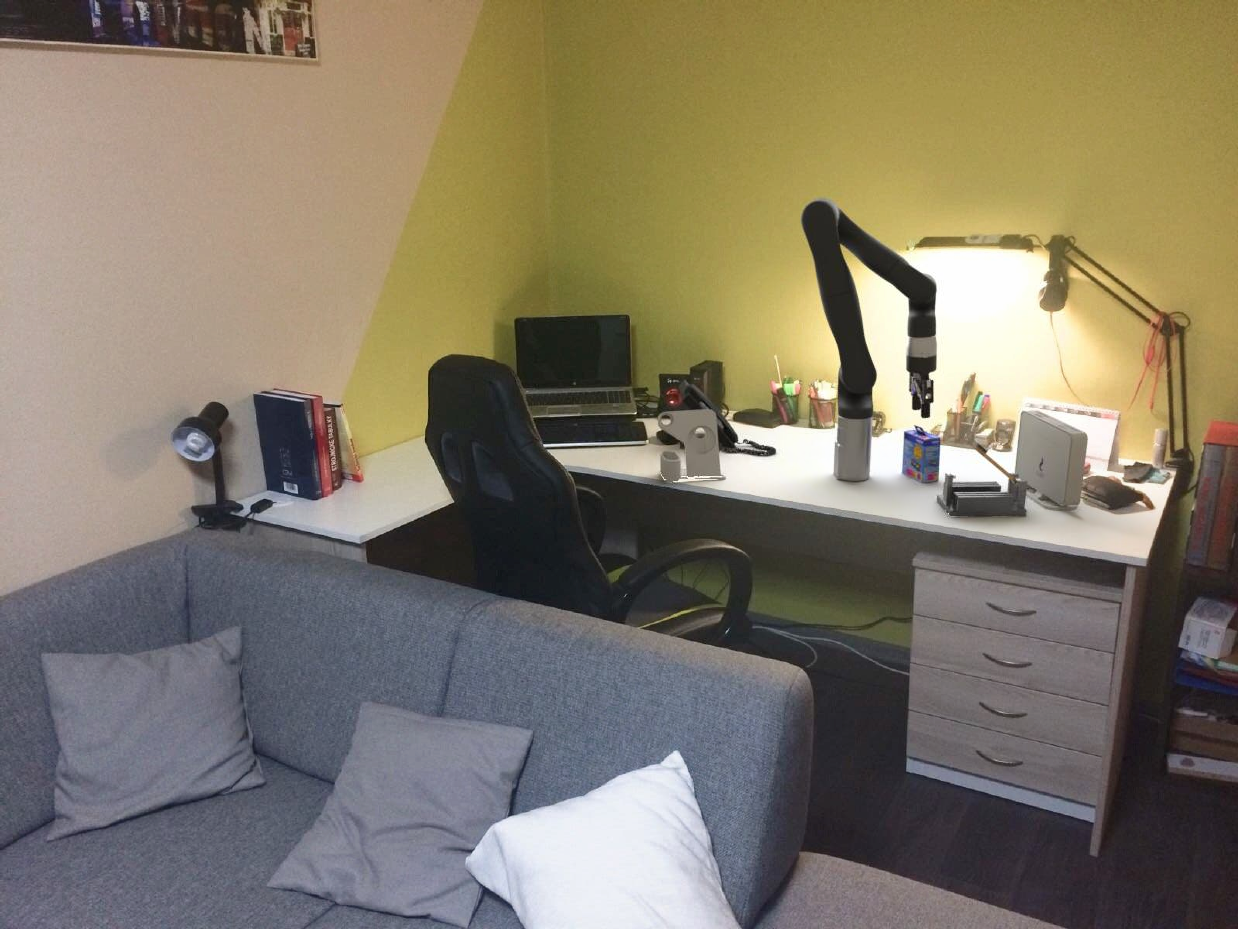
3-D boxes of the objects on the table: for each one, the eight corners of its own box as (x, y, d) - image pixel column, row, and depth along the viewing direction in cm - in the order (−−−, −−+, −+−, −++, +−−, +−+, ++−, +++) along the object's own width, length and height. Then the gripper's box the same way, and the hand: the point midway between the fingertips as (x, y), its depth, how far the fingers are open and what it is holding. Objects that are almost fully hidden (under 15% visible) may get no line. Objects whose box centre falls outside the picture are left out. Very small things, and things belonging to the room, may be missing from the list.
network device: (1005, 482, 258) (1012, 409, 253) (1037, 481, 259) (1045, 408, 253) (1054, 515, 234) (1064, 435, 228) (1089, 513, 235) (1099, 433, 229)
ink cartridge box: (900, 473, 268) (903, 422, 264) (917, 470, 270) (920, 420, 266) (921, 483, 259) (925, 431, 255) (939, 481, 261) (943, 428, 257)
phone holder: (664, 483, 264) (664, 419, 258) (657, 472, 273) (657, 410, 268) (726, 479, 266) (727, 415, 261) (717, 468, 276) (718, 407, 270)
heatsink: (950, 517, 234) (953, 481, 231) (936, 500, 246) (939, 466, 243) (1028, 516, 233) (1032, 480, 231) (1010, 500, 245) (1013, 466, 242)
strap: (973, 450, 233) (979, 444, 233) (968, 446, 237) (974, 439, 237) (1020, 490, 236) (1026, 484, 235) (1014, 485, 240) (1020, 479, 239)
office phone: (777, 457, 287) (779, 390, 281) (681, 458, 287) (681, 392, 281) (764, 431, 315) (765, 370, 309) (676, 433, 315) (676, 372, 309)
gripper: (899, 349, 257) (899, 408, 262) (914, 359, 243) (913, 421, 248) (928, 346, 257) (927, 406, 261) (944, 356, 243) (943, 419, 248)
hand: (920, 413), depth 255 cm, fingers open, 8 cm apart
